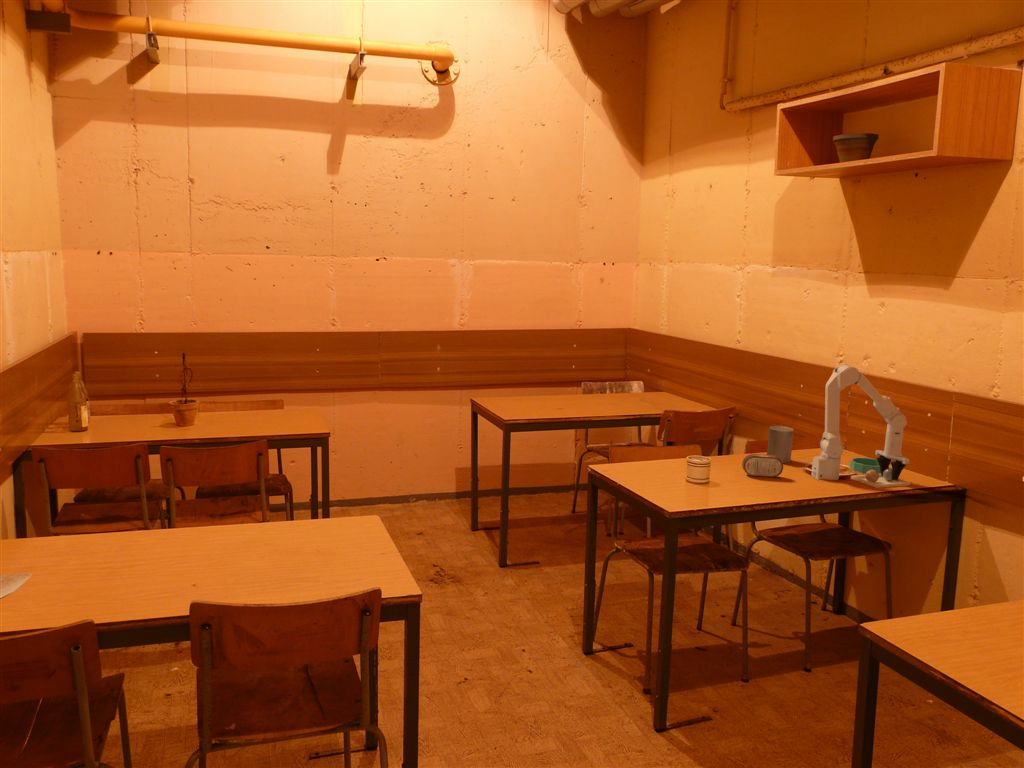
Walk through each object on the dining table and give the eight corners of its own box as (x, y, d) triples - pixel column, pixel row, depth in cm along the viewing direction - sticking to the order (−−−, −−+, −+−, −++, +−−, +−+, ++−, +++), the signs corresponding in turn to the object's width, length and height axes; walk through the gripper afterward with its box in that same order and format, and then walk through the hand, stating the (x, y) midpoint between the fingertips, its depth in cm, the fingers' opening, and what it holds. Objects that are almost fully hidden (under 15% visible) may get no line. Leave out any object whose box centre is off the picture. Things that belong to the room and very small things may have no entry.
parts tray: (876, 489, 302) (877, 485, 301) (850, 480, 314) (851, 475, 313) (910, 487, 307) (910, 482, 307) (883, 477, 319) (884, 473, 319)
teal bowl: (859, 476, 321) (860, 466, 320) (843, 466, 335) (844, 457, 334) (894, 476, 321) (895, 466, 321) (877, 467, 335) (878, 458, 335)
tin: (781, 476, 316) (783, 455, 315) (783, 478, 313) (785, 457, 311) (741, 474, 317) (742, 452, 316) (742, 476, 314) (744, 454, 313)
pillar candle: (762, 457, 345) (765, 422, 343) (783, 457, 347) (786, 422, 345) (773, 463, 336) (776, 428, 333) (795, 463, 338) (798, 427, 335)
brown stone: (868, 483, 306) (869, 471, 306) (862, 480, 311) (863, 468, 310) (880, 484, 307) (882, 471, 306) (874, 480, 311) (875, 468, 311)
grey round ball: (886, 482, 309) (887, 469, 309) (879, 478, 314) (881, 466, 313) (898, 482, 310) (900, 470, 309) (892, 479, 314) (893, 466, 314)
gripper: (917, 447, 304) (912, 482, 306) (886, 438, 318) (883, 472, 320) (902, 447, 302) (898, 483, 304) (872, 439, 315) (868, 473, 317)
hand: (889, 478), depth 312 cm, fingers closed on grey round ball, 5 cm apart
